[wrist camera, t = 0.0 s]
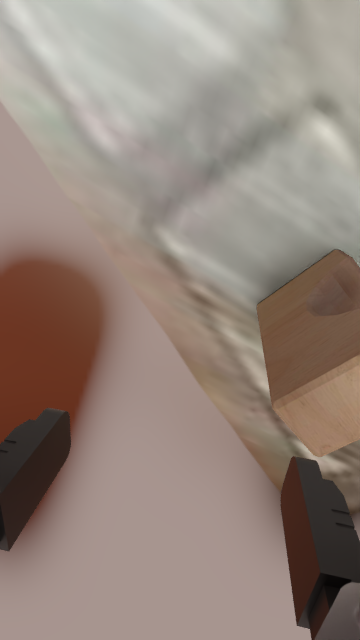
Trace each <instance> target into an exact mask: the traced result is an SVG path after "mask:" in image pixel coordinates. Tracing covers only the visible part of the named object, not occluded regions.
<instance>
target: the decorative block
mask: <svg viewBox="0 0 360 640" xmlns="http://www.w3.org/2000/svg"><path fill="white" fill-rule="evenodd" d="M257 314H258V320H259V326H260V332H261V339H262V345H263V352H264V358H265V364H266V370H267V377H268V383H269V389H270V396H271V402H272V408H273V410H274V411H275V412H276V413H277V414H278V415H279V416H280V418H281V419H282V420H283V421H284V422H285V423H286V424H287V425H288V427H289V428H290V429H291V430H292V431H293V432H294V433H295V435H296V436H297V437H298V438H299V439H300V440H301V441H302V442H303V444H304V445H305V446H306V447H307V448H308V449H309V450H310V452H311V453H312V454H313V455H314V456H318V457H322V456H324V455H326V454H328V453H330V452H333V451H335V450H337V449H339V448H341V447H344V446H346V445H348V444H350V443H352V442H355V441H357V440H359V439H360V268H359V266H358V265H357V264H356V262H355V261H354V259H353V258H352V257H351V256H349V255H347V254H346V253H344V252H342V251H341V250H334V251H333V252H331V253H330V254H328V255H327V256H326V257H324V258H323V259H321V260H320V261H319V262H317V263H316V264H314V265H313V266H311V267H310V268H309V269H307V270H306V271H304V272H303V273H301V274H300V275H299V276H297V277H296V278H294V279H293V280H292V281H290V282H289V283H287V284H286V285H285V286H283V287H282V288H280V289H279V290H277V291H276V292H275V293H273V294H272V295H270V296H269V297H268V298H266V299H265V300H263V301H262V302H261V303H259V304H258V305H257Z"/></svg>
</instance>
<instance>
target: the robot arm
mask: <svg viewBox="0 0 360 640" xmlns="http://www.w3.org/2000/svg"><path fill="white" fill-rule="evenodd" d="M70 447H71V437H70V416H69V413H68V412H67V411H61V410H57V409H52V408H47V409H45V410H44V411H43V412H42V413H41V414H40V416H39V417H38V418H37V419H36V420H28V421H26V422H24V423H23V424H21V425H19V426H18V427H16V428H15V429H14V430H13V431H12V432H11V433H10V434H9V435H8V436H7V437H6V439H5V440H4V442H2V443H1V444H0V549H1V550H5V551H9V550H10V549H11V547H12V546H13V544H14V542H15V541H16V539H17V538H18V536H19V535H20V533H21V531H22V530H23V528H24V527H25V525H26V523H27V522H28V520H29V519H30V517H31V515H32V514H33V512H34V510H35V509H36V507H37V506H38V504H39V502H40V501H41V500H42V498H43V496H44V495H45V493H46V491H47V490H48V488H49V487H50V485H51V484H52V482H53V480H54V479H55V477H56V476H57V474H58V472H59V471H60V469H61V467H62V466H63V464H64V463H65V461H66V459H67V457H68V454H69V451H70ZM281 512H282V519H283V527H284V534H285V542H286V549H287V556H288V564H289V571H290V578H291V586H292V593H293V601H294V608H295V615H296V622H297V626H300V627H304V628H308V629H310V632H311V638H312V640H360V541H359V538H358V535H357V533H356V530H354V524H353V521H352V518H351V516H350V515H349V514H350V512H349V509H348V506H347V504H346V501H345V498H344V496H343V494H342V493H341V492H340V490H339V489H338V488H337V486H336V485H335V484H334V482H333V481H330V480H325V479H322V475H321V472H320V469H319V465H318V463H317V461H315V460H310V459H305V458H300V457H295V456H293V457H292V458H291V460H290V463H289V467H288V470H287V473H286V476H285V480H284V483H283V486H282V490H281Z"/></svg>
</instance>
